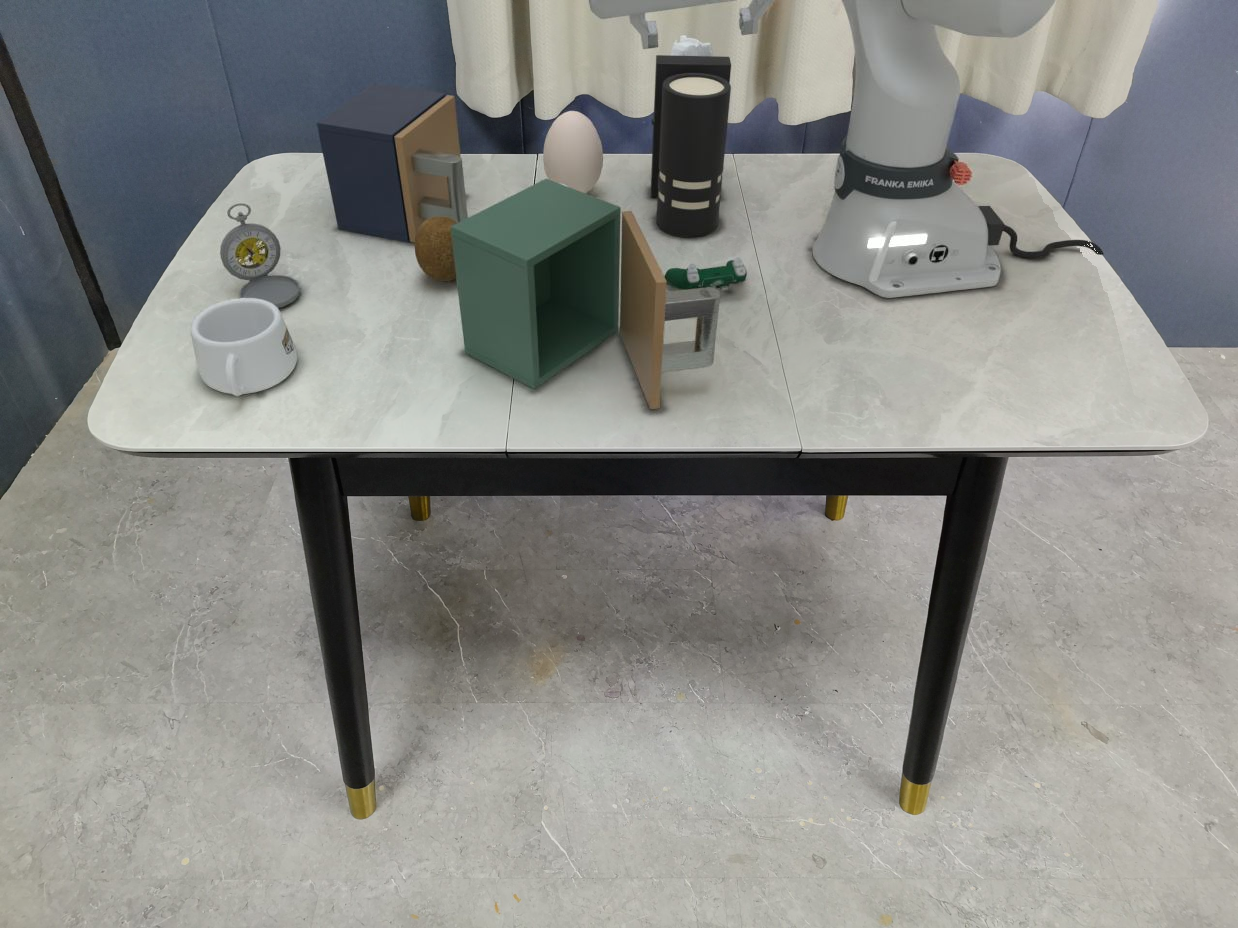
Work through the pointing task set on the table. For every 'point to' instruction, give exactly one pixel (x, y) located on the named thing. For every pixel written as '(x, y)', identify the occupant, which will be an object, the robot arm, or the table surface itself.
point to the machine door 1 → (432, 167)
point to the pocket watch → (257, 262)
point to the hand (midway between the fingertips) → (698, 37)
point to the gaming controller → (707, 276)
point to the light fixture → (689, 141)
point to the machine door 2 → (660, 315)
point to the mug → (242, 346)
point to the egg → (573, 152)
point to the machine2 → (538, 280)
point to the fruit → (436, 248)
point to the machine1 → (371, 158)
